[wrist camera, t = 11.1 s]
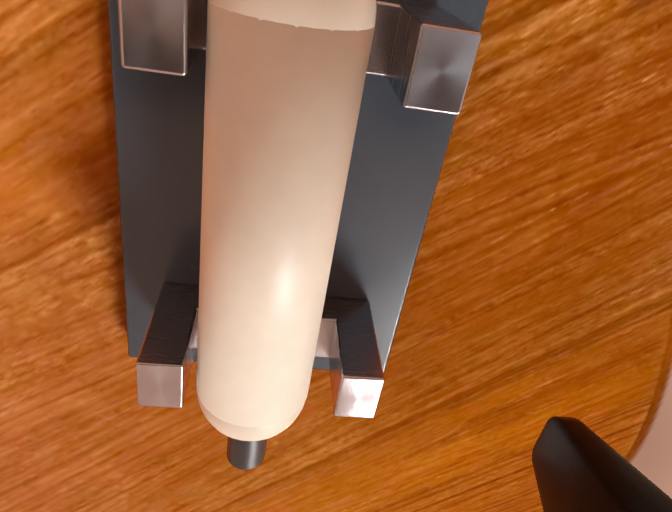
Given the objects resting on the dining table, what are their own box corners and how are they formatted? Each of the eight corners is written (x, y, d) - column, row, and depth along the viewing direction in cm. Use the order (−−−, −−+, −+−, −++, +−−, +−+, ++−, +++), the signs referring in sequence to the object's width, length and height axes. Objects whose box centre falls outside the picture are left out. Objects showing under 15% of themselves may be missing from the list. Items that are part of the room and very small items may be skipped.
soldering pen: (302, 424, 19) (286, 509, 16) (210, 407, 19) (179, 489, 16) (444, -352, 9) (466, -478, 6) (251, -389, 9) (187, -532, 6)
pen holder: (108, -143, 12) (24, -168, 8) (497, -68, 13) (579, -60, 9) (133, 342, 19) (95, 445, 15) (381, 359, 20) (401, 458, 17)
